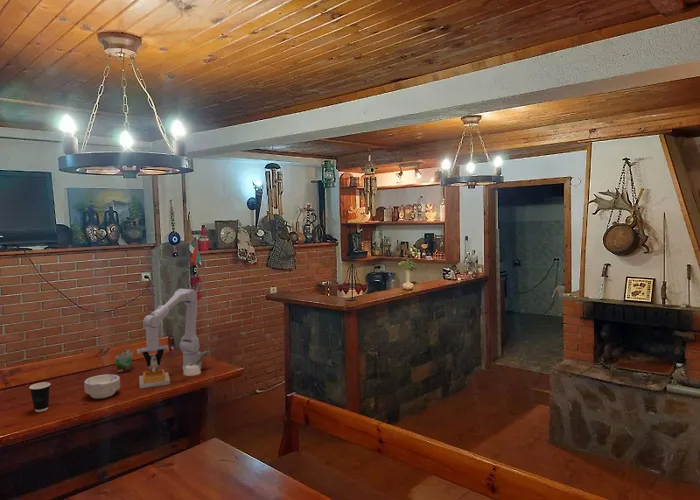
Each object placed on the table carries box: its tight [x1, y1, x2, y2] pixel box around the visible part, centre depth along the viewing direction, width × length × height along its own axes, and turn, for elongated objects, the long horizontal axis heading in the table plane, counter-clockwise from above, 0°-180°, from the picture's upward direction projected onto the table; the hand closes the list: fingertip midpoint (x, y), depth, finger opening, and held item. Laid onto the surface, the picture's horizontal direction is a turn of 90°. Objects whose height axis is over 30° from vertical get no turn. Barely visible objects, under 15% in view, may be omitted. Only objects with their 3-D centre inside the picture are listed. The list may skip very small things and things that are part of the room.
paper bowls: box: [83, 373, 121, 400], centre depth 239 cm, size 15×15×8 cm
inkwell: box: [182, 350, 212, 377], centre depth 273 cm, size 9×18×10 cm, turn 149°
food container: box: [114, 348, 134, 374], centre depth 276 cm, size 12×6×10 cm, turn 179°
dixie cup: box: [29, 381, 51, 413], centre depth 222 cm, size 8×8×11 cm
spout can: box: [148, 353, 159, 372], centre depth 255 cm, size 4×7×8 cm
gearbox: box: [138, 369, 171, 389], centre depth 257 cm, size 14×14×4 cm
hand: (153, 365), depth 256 cm, fingers closed on spout can, 4 cm apart
